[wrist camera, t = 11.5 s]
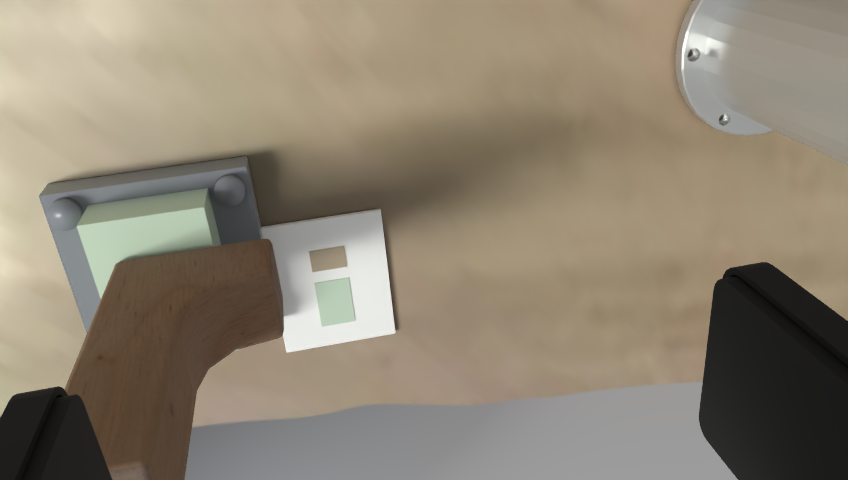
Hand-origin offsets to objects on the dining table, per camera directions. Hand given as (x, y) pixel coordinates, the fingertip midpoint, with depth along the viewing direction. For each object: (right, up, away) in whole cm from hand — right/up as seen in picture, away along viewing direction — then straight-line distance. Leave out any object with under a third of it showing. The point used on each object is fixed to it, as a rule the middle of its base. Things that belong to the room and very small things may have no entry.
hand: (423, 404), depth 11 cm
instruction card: (-6, -1, +40) cm, 41 cm away
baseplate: (-17, +1, +37) cm, 40 cm away
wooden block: (-13, 0, +33) cm, 35 cm away
